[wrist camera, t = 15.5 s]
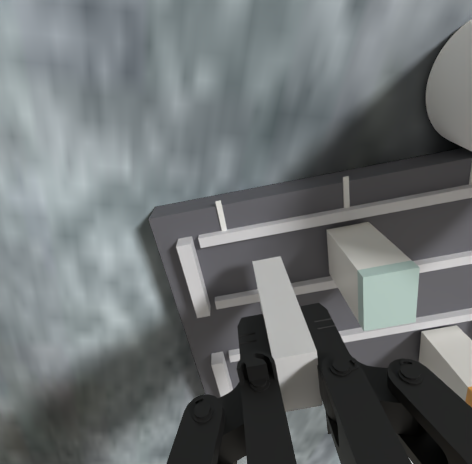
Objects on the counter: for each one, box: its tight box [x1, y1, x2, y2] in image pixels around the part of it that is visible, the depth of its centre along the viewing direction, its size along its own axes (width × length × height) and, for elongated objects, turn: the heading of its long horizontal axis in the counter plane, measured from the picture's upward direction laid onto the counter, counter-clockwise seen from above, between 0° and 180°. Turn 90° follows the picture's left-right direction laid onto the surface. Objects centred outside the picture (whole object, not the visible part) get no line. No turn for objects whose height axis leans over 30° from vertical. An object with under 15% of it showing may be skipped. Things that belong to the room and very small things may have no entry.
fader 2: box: [419, 325, 472, 407], centre depth 20 cm, size 2×3×5 cm
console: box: [149, 148, 472, 398], centre depth 21 cm, size 22×18×3 cm
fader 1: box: [326, 222, 420, 331], centre depth 16 cm, size 2×3×5 cm
